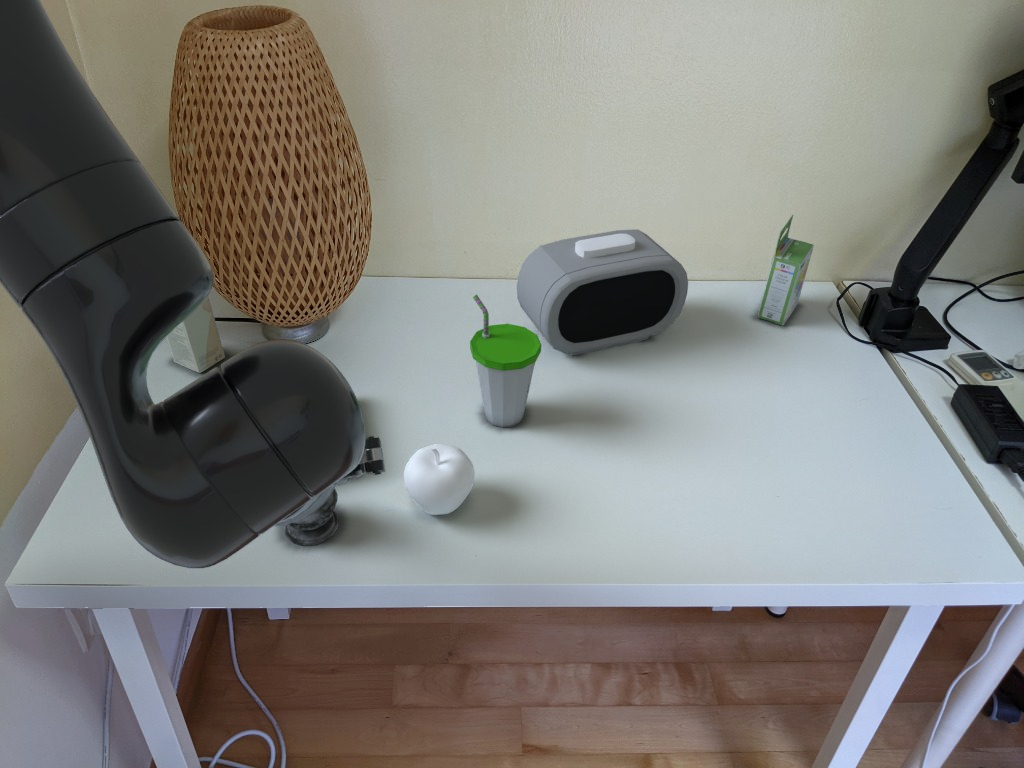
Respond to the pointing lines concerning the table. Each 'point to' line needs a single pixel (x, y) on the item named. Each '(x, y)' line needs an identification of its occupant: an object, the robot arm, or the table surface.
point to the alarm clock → (601, 290)
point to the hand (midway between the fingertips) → (295, 473)
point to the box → (197, 340)
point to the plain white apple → (439, 478)
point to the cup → (504, 368)
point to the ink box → (785, 278)
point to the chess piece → (315, 525)
